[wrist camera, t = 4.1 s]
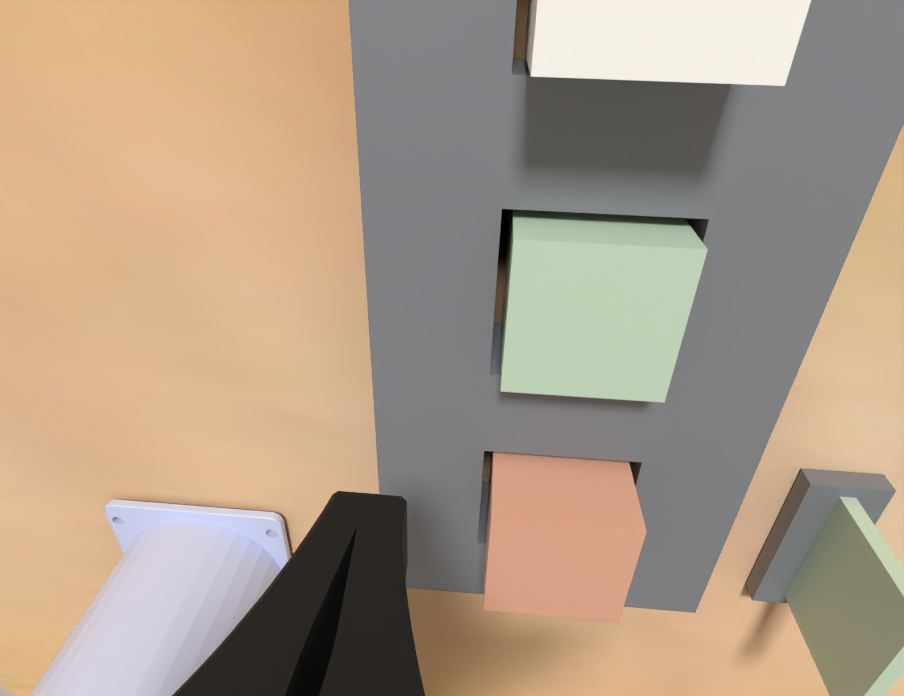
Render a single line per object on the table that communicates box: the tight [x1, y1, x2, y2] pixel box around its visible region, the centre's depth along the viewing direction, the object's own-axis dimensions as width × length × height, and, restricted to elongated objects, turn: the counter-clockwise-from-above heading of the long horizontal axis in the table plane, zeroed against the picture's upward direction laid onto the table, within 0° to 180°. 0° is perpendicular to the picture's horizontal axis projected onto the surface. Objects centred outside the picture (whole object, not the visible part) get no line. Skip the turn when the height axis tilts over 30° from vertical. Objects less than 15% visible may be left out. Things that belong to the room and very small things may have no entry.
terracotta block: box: [483, 452, 647, 622], centre depth 19 cm, size 4×4×4 cm
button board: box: [349, 0, 904, 613], centre depth 17 cm, size 26×12×3 cm, turn 179°
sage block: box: [500, 209, 708, 403], centre depth 16 cm, size 4×4×4 cm
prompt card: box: [746, 469, 904, 696], centre depth 21 cm, size 7×3×6 cm, turn 179°
